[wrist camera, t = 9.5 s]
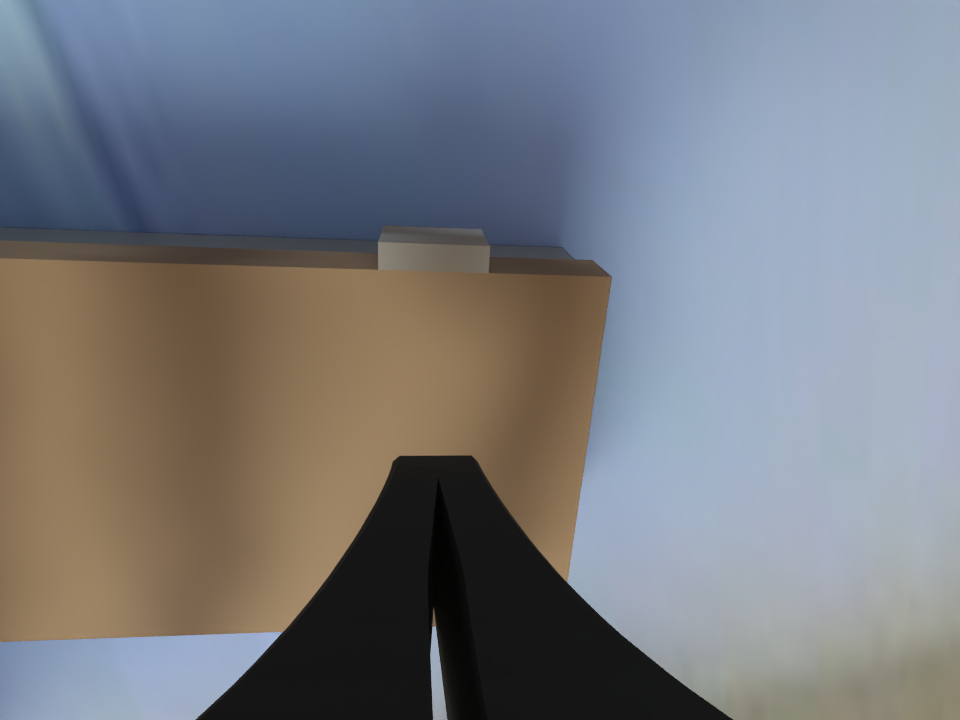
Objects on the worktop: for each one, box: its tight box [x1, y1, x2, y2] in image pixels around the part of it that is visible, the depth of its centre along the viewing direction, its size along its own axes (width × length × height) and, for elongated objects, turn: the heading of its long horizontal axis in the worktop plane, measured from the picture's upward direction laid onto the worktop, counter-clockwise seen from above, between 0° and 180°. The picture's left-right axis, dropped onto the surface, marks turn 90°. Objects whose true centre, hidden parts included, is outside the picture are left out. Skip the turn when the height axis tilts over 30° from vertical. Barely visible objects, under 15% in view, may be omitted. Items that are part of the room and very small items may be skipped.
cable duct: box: [0, 227, 574, 260], centre depth 17 cm, size 20×10×3 cm, turn 87°
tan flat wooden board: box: [0, 225, 612, 642], centre depth 15 cm, size 20×11×2 cm, turn 87°
